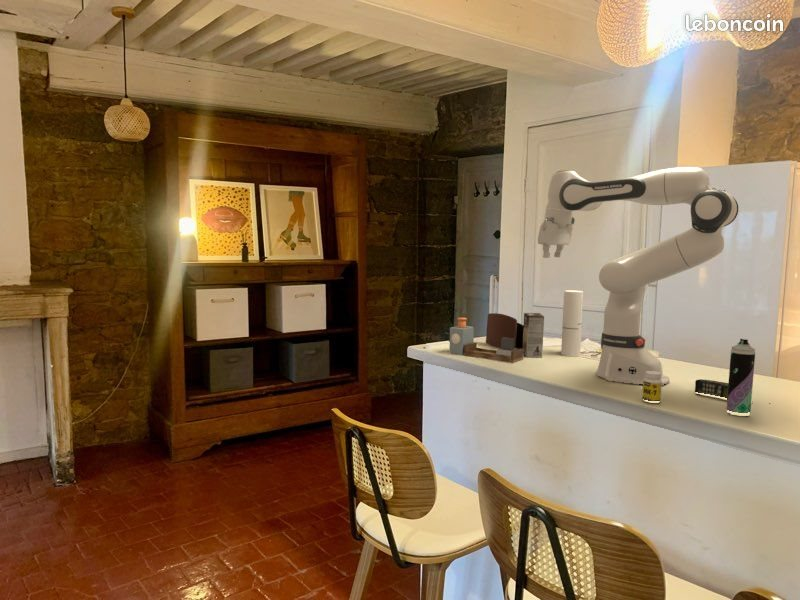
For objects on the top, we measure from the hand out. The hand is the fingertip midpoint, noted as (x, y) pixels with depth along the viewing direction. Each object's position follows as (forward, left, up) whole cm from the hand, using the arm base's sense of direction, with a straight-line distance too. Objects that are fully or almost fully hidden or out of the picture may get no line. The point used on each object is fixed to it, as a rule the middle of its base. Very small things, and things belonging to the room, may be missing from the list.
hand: (551, 257), depth 207 cm
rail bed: (+21, +1, -38) cm, 44 cm away
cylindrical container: (+1, -24, -39) cm, 46 cm away
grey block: (+35, +1, -38) cm, 52 cm away
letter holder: (+27, -23, -39) cm, 53 cm away
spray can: (-63, +22, -39) cm, 77 cm away
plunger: (+35, +1, -31) cm, 47 cm away
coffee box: (+12, -13, -39) cm, 43 cm away
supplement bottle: (-42, +25, -39) cm, 62 cm away
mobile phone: (-57, +8, -39) cm, 70 cm away
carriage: (+15, +1, -37) cm, 40 cm away
